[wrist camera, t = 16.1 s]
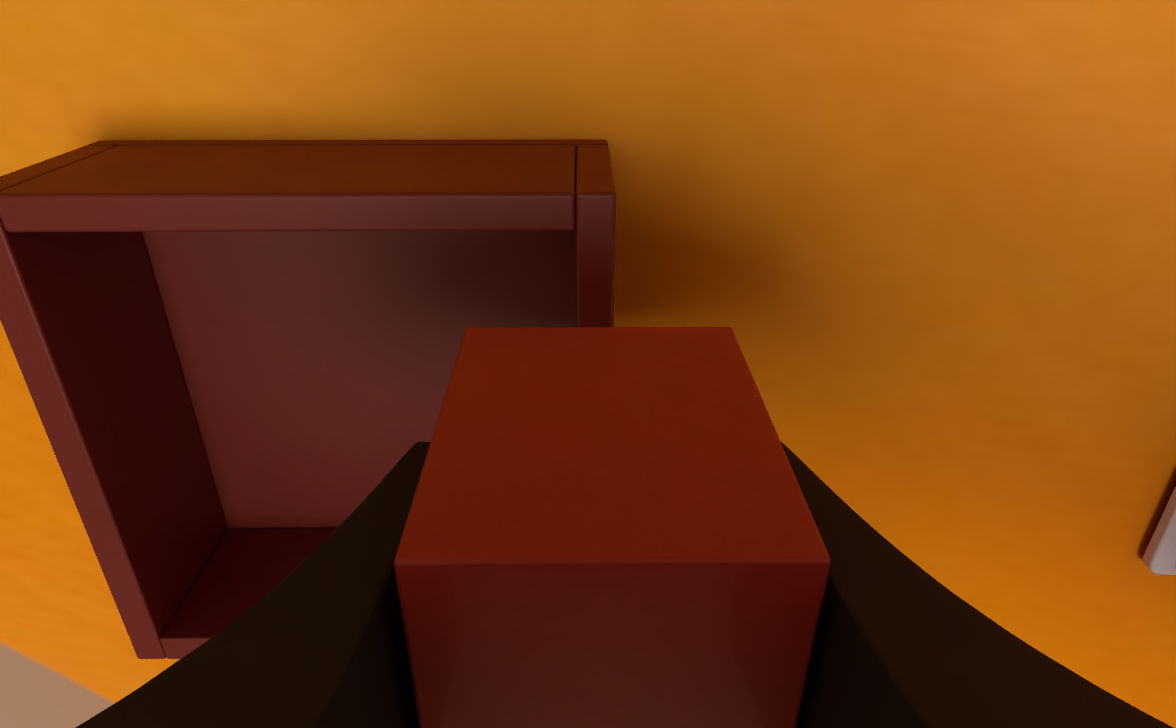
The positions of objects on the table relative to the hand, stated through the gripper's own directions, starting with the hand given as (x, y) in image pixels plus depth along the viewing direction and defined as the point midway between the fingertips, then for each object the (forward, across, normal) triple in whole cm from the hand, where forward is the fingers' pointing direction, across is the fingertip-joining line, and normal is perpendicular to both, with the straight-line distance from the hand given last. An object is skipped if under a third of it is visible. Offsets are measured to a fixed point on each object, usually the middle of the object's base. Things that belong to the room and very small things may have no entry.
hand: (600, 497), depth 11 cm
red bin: (+8, +5, +2) cm, 10 cm away
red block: (+1, 0, 0) cm, 1 cm away
